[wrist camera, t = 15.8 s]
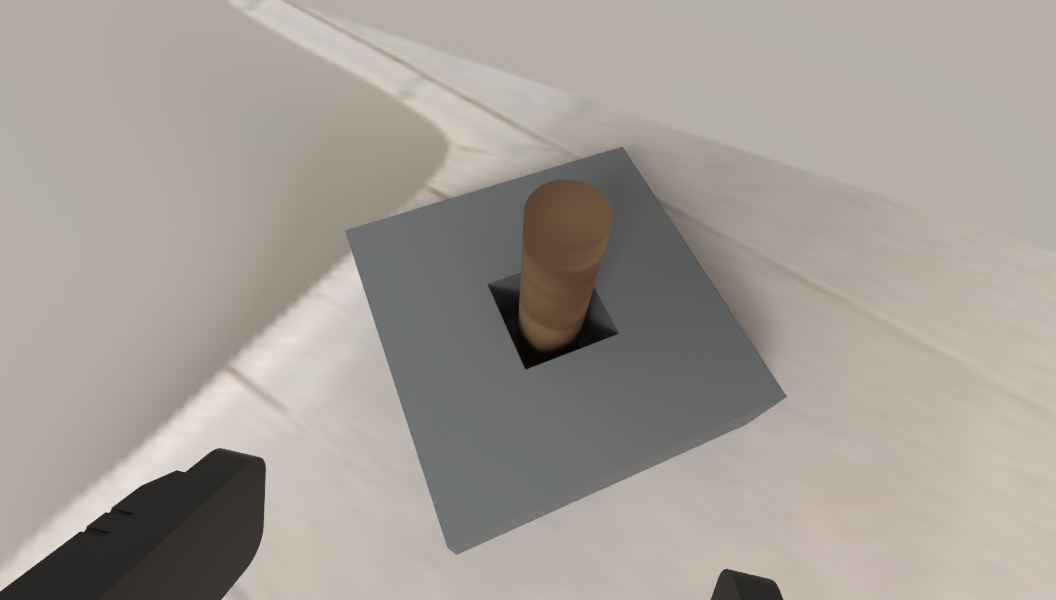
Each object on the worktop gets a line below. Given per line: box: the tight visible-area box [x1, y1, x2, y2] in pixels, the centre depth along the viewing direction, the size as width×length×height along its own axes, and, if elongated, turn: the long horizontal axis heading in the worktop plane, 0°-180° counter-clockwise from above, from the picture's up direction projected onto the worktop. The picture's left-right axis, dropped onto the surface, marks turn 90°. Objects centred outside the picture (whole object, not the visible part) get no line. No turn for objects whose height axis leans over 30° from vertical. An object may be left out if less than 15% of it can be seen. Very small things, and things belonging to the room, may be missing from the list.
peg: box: [517, 179, 613, 368], centre depth 25 cm, size 3×3×12 cm
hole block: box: [346, 147, 787, 554], centre depth 28 cm, size 16×16×4 cm
